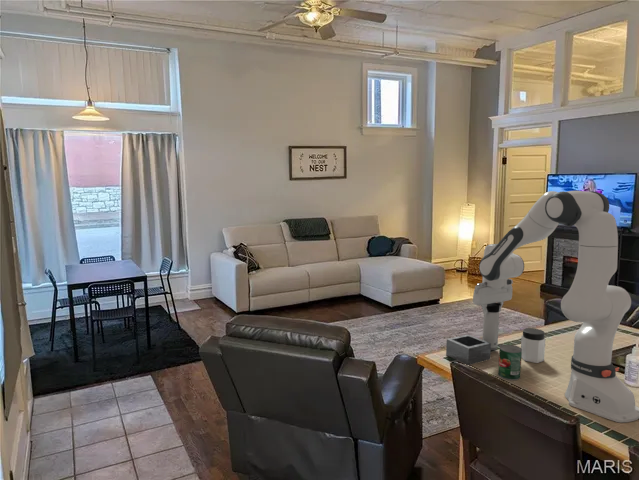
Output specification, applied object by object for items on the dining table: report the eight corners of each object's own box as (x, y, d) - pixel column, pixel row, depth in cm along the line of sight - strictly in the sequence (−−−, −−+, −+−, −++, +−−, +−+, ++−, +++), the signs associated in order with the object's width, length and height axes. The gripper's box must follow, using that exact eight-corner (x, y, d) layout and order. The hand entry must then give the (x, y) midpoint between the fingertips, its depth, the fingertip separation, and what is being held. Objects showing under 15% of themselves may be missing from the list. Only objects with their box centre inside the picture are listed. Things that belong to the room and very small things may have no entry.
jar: (517, 355, 198) (518, 327, 197) (536, 354, 198) (537, 327, 197) (527, 363, 189) (529, 334, 188) (547, 363, 190) (549, 334, 188)
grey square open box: (490, 359, 193) (491, 343, 192) (468, 365, 188) (468, 348, 187) (467, 349, 204) (468, 334, 203) (446, 354, 199) (446, 339, 198)
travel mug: (499, 350, 200) (501, 305, 197) (483, 349, 201) (485, 304, 198) (496, 345, 206) (499, 301, 203) (481, 344, 207) (483, 300, 204)
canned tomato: (493, 375, 178) (495, 347, 177) (505, 369, 183) (506, 342, 182) (513, 382, 172) (514, 353, 171) (524, 376, 177) (526, 348, 175)
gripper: (481, 285, 192) (480, 317, 193) (515, 279, 201) (514, 311, 203) (469, 282, 197) (468, 314, 199) (503, 277, 207) (502, 307, 208)
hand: (491, 312), depth 201 cm, fingers closed on travel mug, 6 cm apart
